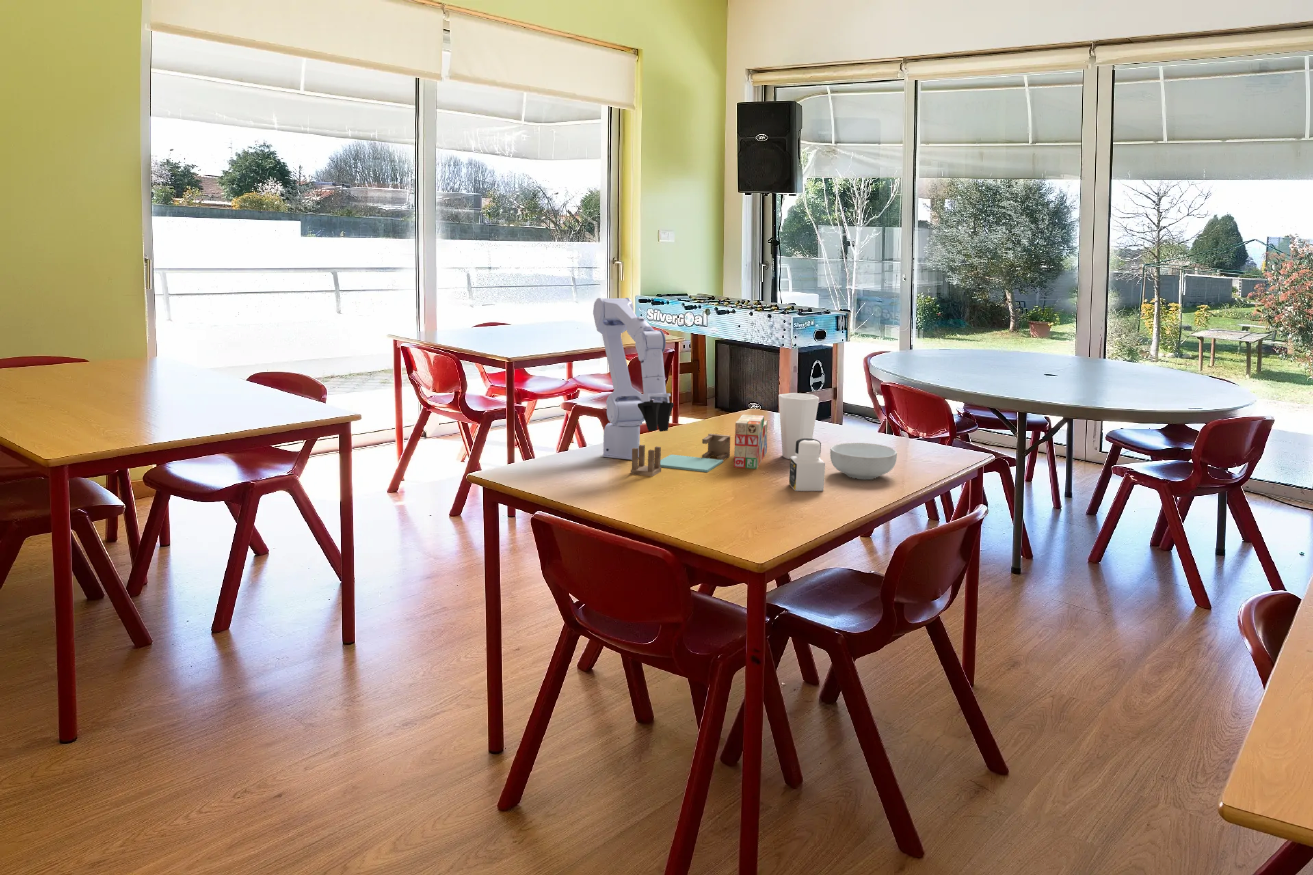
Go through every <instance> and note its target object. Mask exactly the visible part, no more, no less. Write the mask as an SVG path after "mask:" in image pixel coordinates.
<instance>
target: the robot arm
mask: <svg viewBox="0 0 1313 875" xmlns="http://www.w3.org/2000/svg"><path fill="white" fill-rule="evenodd" d="M592 315H593V319H594V324H595V328H596V331H597V332H598V333H600V334H601V335H602V336H601V337H602V341H603V345H604V349H605V355H606V359H607V365H608V368H609V373H610V374H609V375H610V379H611V382H612V389H613V391H612V392H611V393H610V394H608V396H607V398H606V401H605V403H606V416H607V419H608V421H609V422H608V423H607V424H606V425H605V426H604V431H603V447H602V448H603V449H602V450H603V451H602V452H603V454H602V455H601V456H602V457H603V458H604V457H605V458H610V459H611V458H612V459H618V460H619V459H620V460H621V459H622V460H627V461H628V460H631V461H632V449H633V448H638V459H639V445H641V444H640V442H641V440H640V437H641V435H640V432H641V426H642V425H643V423H644V422H645V425H646V428H647V430H648V432H656V431H659V432H668V431H669V426H670V420H671V419H670V418H671V414H672V410H673V409H674V405H675V404H674V402H670V397H671V396H672V395H671V393H670V392H669V393H668V392H667V389H666V377H665V376H666V375H665V367H664V365H665V364H664V355H663V353H664V352H665V350H666V345H667V342H666V335H665V333H664V331H663V330H662V329H658V330H656V329H654V328H653V327H652V326H651V324H649V322H648V321H647V320H646V319H645V318H644V317H643V316H637V314H636V313H635V311H634V304H633V301H632V300H631V298H630V297H621V298H617V297H615V298H614V297H613V298H612V297H611V298H609V297H608V298H603V297H597V298H596V299H595V301H594V303H593V311H592ZM625 332H627V334H628V335H629V337H630V338H631V340H633V341H634V342H635V343H634V344H635V350H636V352H637V357H638V358H637V359H638V361H640V368H641V377H642V378H641V379H642V389H643V390H642V391H643V393H641V392H640V391H638V390H637V389H636V388H634V387H633V386H632V381H631V376H630V372H629V366H628V364H627V358H626V353H625V349H624V344H623V339H622V334H623V333H625ZM602 457H601V458H602Z"/></svg>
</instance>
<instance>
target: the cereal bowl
mask: <svg viewBox="0 0 1313 875" xmlns="http://www.w3.org/2000/svg"><path fill="white" fill-rule="evenodd" d="M829 454H830V461H831V464H832V466H833V467H834V468H835V469H836V470H837V471H839V472H840V473H843V474H845V475H846V476H847V477H849V476H850V477H849V478H851V477H852V478H851V479H855V478H857V479H858V480H874V479H873V478H875V479H877V478H879V476H883V475H885V474H888V473H890V471H892V470H893V469H894V467H895V465H896V462H897V456H898V452H897V450H896V449H894V448H892V447H890V446H887V445H883V444H877V443H865V442H847V443H839V444H834V445H832V446H831V447H830V449H829ZM876 477H877V478H876ZM857 479H856V480H857Z"/></svg>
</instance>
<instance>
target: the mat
mask: <svg viewBox="0 0 1313 875" xmlns="http://www.w3.org/2000/svg"><path fill="white" fill-rule="evenodd" d="M723 463H724V460H718V459H717V458H702V457H698V456H691V455H690V456H688V455H680V454H679V455H678V454H669V455H667V456H666V457H663V458H661V460H660V467H661V468H666V469H676V470H684V471H692V472H693V471H694V472H700V473H701V472H703V473H709V472H710V471H712V470H714V469H715V468H716V467H718V466H720V465H721V464H723Z"/></svg>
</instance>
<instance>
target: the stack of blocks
mask: <svg viewBox="0 0 1313 875" xmlns="http://www.w3.org/2000/svg"><path fill="white" fill-rule="evenodd" d="M734 427H735V428H734V429H735V430H734V454H733V456H734V457H733V468H739V469H755V470H757V469H758V468H759V466H760V465H761V463H762V461H763V459H764V457H765V456H766V455H767V451H768V420H765V415H760V414H759V415H756V414H755V415H754V414H741V416H740V417H739V418H738V419H737V420H736V421H735V425H734Z"/></svg>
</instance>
